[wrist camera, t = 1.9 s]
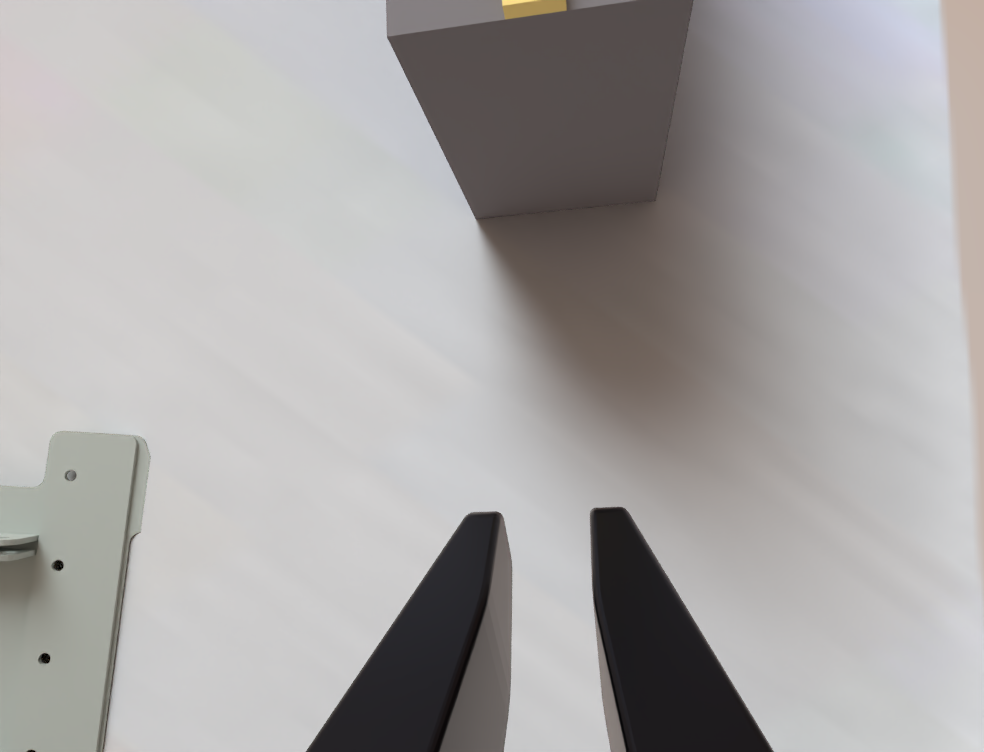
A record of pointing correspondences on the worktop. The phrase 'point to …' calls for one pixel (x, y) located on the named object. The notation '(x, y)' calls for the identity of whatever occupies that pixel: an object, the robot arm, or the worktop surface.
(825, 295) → the worktop surface
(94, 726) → the metal bracket
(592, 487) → the worktop surface
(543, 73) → the grey rectangular box
